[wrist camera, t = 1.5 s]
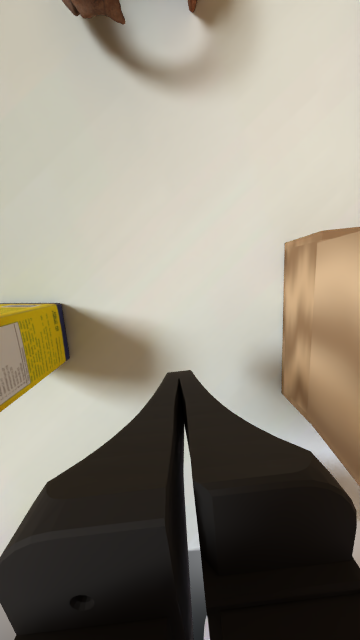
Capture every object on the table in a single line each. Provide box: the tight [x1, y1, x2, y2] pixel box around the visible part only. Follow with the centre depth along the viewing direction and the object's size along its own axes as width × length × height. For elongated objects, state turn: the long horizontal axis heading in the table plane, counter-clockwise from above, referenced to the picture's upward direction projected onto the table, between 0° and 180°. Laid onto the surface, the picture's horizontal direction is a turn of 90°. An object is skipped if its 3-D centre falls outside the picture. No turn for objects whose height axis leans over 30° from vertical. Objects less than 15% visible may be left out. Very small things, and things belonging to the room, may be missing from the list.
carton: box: [281, 227, 360, 423], centre depth 17 cm, size 16×10×4 cm, turn 6°
